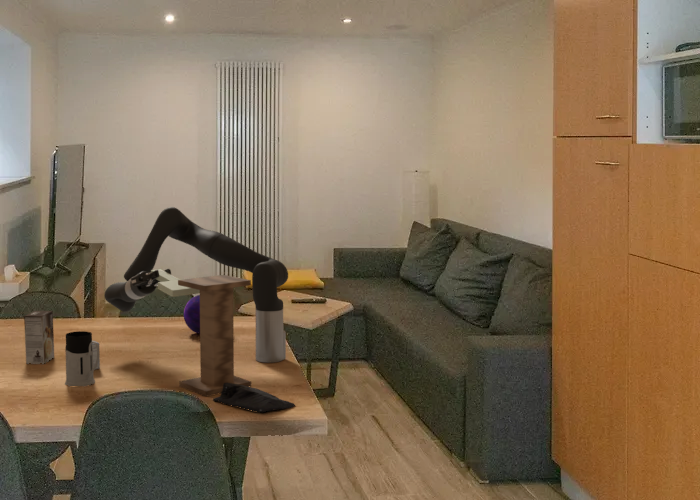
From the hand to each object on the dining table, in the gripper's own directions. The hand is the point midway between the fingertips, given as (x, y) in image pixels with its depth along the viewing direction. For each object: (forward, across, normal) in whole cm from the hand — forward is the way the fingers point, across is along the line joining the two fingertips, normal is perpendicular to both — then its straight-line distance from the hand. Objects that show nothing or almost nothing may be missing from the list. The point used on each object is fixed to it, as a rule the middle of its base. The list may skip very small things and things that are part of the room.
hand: (163, 272), depth 276 cm
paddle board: (+4, 0, +5) cm, 6 cm away
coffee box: (-45, -27, +16) cm, 55 cm away
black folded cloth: (+31, +2, +47) cm, 57 cm away
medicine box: (-27, -20, +23) cm, 41 cm away
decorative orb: (-48, +37, +16) cm, 63 cm away
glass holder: (-12, -27, +29) cm, 41 cm away
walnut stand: (+12, +2, +39) cm, 41 cm away
